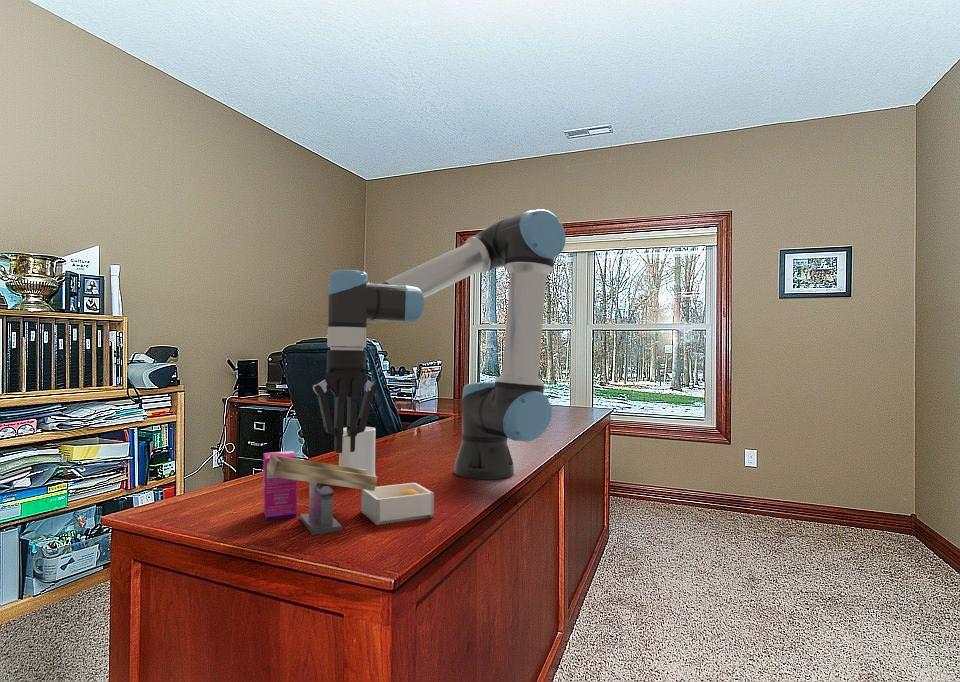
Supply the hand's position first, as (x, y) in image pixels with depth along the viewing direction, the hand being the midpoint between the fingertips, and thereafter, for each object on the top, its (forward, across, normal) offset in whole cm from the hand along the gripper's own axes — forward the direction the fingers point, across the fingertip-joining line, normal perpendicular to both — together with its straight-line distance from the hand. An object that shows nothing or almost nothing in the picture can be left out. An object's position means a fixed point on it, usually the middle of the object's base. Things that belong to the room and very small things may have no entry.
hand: (344, 468), depth 113 cm
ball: (+5, -11, +8) cm, 14 cm away
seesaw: (0, +6, +5) cm, 8 cm away
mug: (+8, -11, -25) cm, 29 cm away
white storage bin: (+8, -8, +8) cm, 14 cm away
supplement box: (+8, +12, -2) cm, 14 cm away
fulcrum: (+8, +6, +8) cm, 13 cm away
